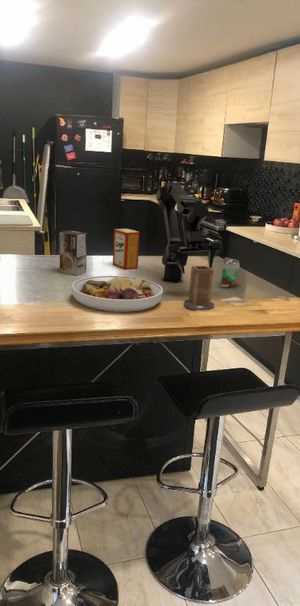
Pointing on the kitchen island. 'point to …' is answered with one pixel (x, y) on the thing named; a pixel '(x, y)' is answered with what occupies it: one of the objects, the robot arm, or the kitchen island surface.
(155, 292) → the bowl
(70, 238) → the coffee box
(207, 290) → the collar
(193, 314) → the kitchen island surface
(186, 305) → the hub
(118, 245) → the baking soda box
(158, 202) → the robot arm
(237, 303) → the cork pad
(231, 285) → the food container
